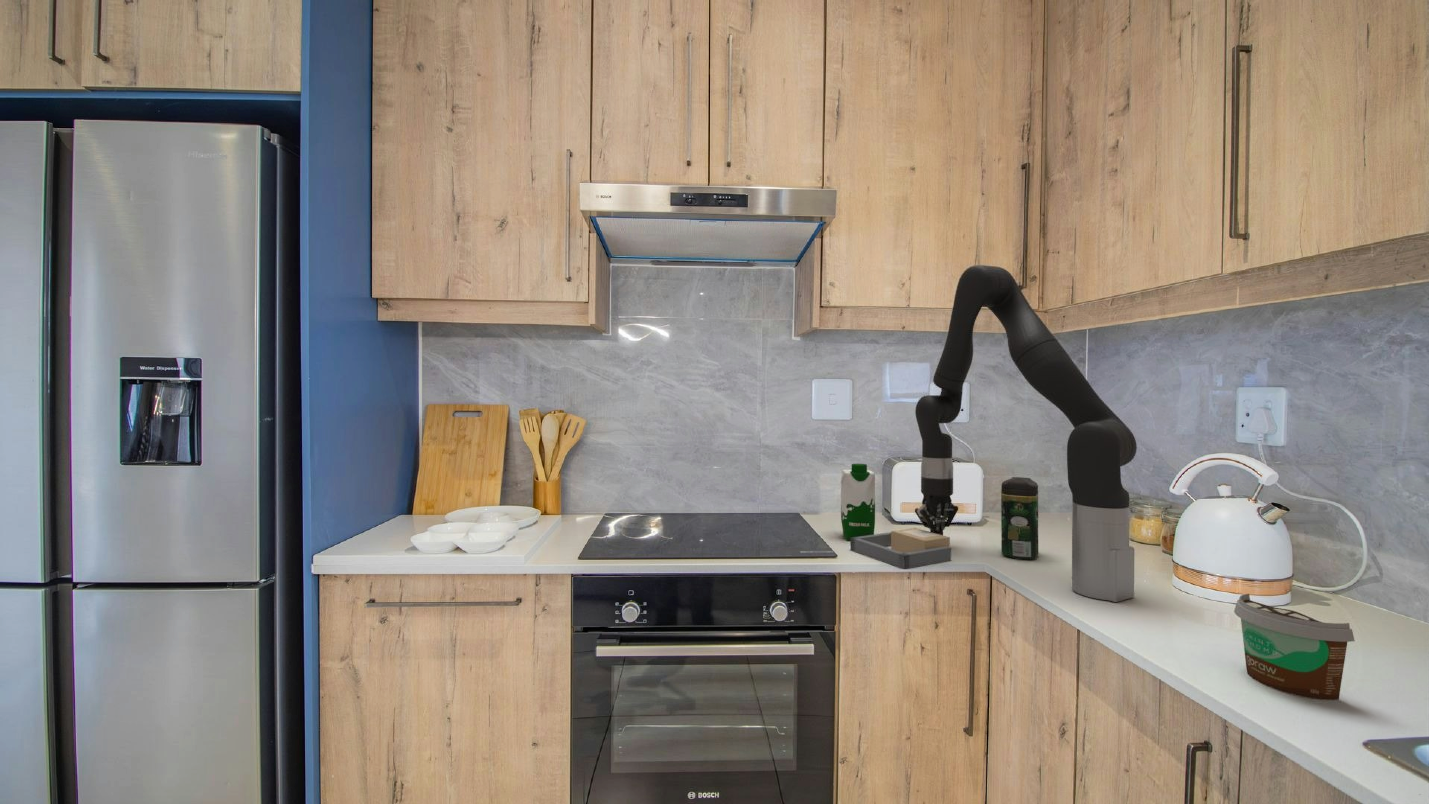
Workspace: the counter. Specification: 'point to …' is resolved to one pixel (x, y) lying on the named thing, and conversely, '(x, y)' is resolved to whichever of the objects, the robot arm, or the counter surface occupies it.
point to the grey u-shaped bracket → (897, 552)
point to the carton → (917, 540)
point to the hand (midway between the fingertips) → (936, 544)
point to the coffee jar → (1019, 518)
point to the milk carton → (857, 501)
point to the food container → (1293, 650)
